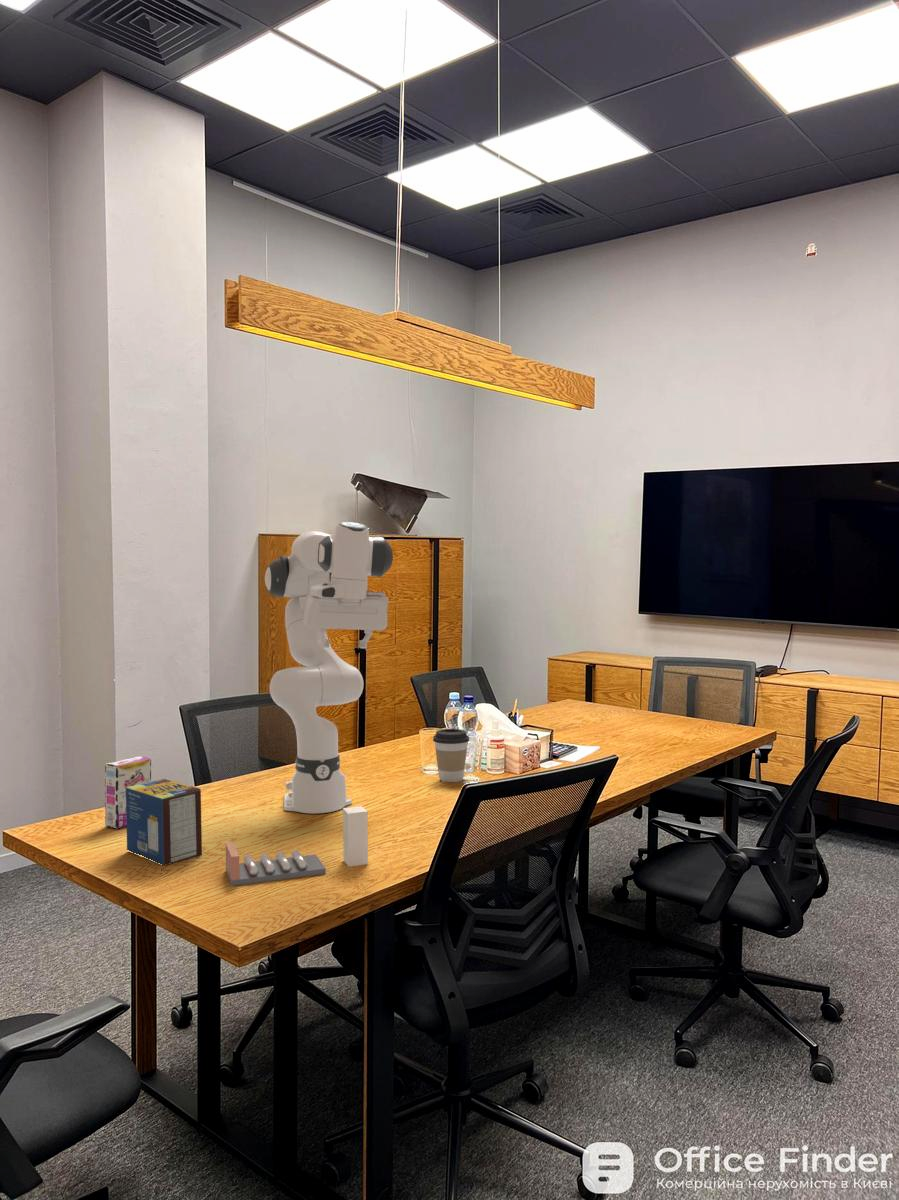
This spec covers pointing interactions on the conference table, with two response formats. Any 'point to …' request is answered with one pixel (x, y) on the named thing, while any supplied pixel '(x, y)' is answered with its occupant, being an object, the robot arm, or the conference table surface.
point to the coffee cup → (451, 753)
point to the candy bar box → (123, 786)
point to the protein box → (164, 821)
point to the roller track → (281, 875)
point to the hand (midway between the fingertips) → (344, 647)
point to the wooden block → (355, 836)
